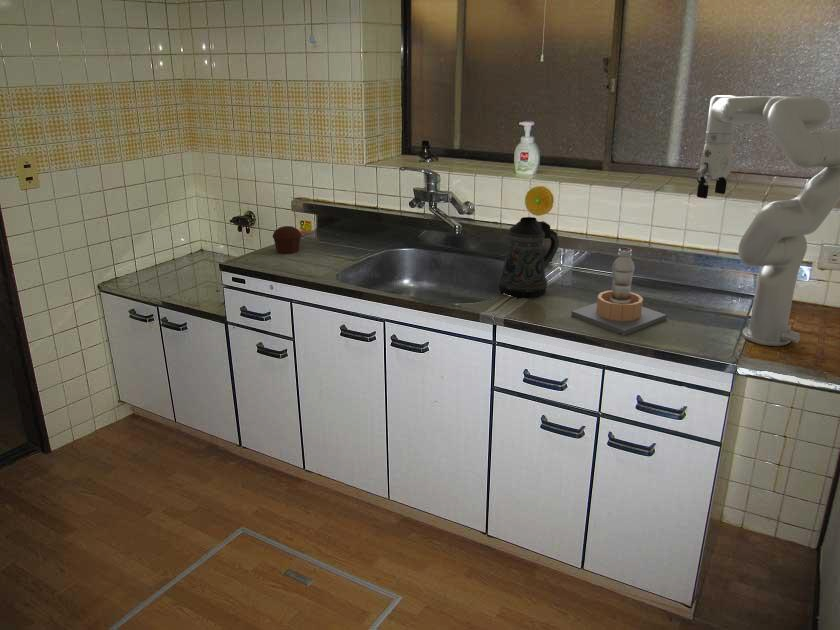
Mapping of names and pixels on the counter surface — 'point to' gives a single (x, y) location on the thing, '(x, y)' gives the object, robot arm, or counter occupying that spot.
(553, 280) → the counter surface
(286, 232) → the muffin
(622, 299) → the plastic bottle
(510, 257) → the beer stein
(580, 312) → the duct base
